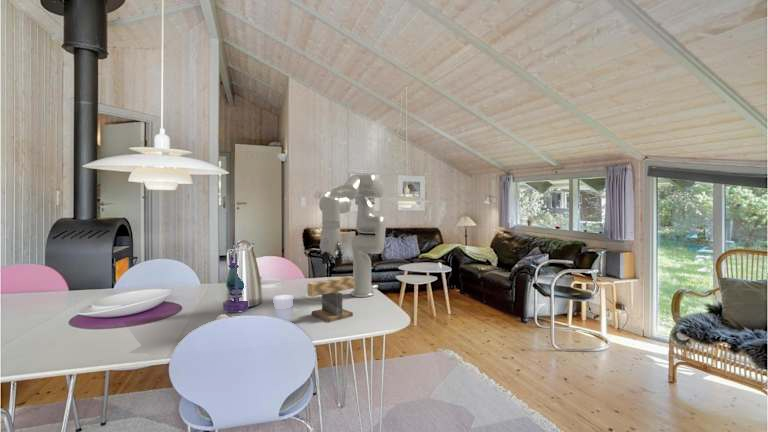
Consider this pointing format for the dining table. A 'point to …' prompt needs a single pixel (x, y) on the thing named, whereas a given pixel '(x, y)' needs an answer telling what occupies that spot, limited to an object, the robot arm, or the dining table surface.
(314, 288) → the oak bar
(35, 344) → the dining table surface
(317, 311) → the stand
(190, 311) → the dining table surface
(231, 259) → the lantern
